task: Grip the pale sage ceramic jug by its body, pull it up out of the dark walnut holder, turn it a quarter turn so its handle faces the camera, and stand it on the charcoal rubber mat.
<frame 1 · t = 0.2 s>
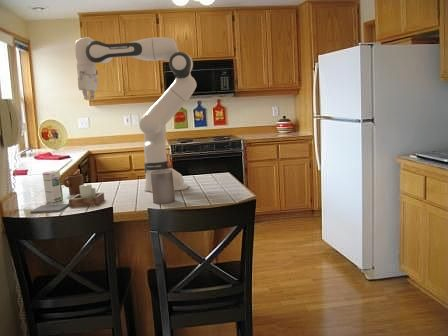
hand: (89, 99, 248), 47 cm above the breakfast bar, fingers open, 8 cm apart
syrup box: (54, 201, 240), on the breakfast bar
pillar candle: (164, 202, 222), on the breakfast bar
walnut holder: (87, 203, 229), on the breakfast bar
mug: (74, 194, 256), on the breakfast bar
jug: (88, 194, 228), in the walnut holder
charcoal mat: (50, 209, 221), on the breakfast bar
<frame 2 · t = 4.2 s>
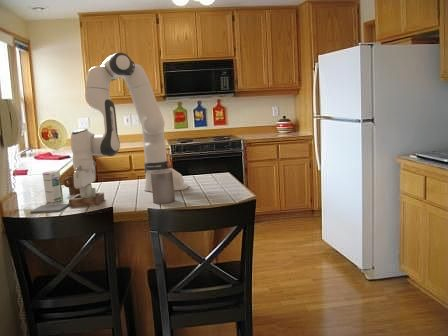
hand: (86, 194, 228), 4 cm above the breakfast bar, fingers closed on jug, 5 cm apart
jug: (88, 194, 228), in the walnut holder, touching gripper
everything else where it was.
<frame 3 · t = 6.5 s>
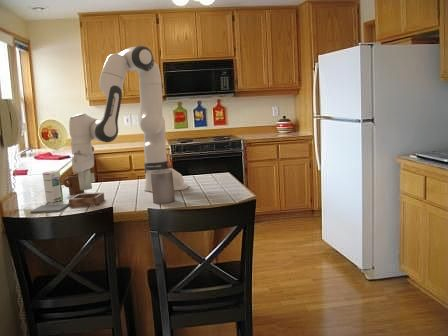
hand: (85, 179, 227), 11 cm above the breakfast bar, fingers closed on jug, 5 cm apart
jug: (86, 179, 227), point 11 cm above the breakfast bar, touching gripper
everything else where it was.
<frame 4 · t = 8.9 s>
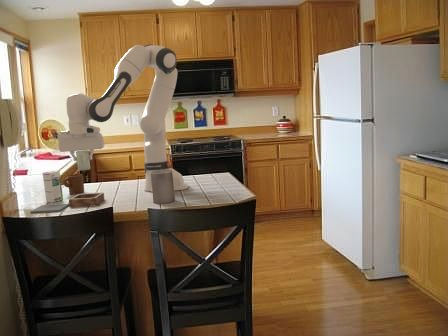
hand: (83, 160, 226), 20 cm above the breakfast bar, fingers closed on jug, 5 cm apart
jug: (82, 160, 225), point 20 cm above the breakfast bar, touching gripper
everything else where it was.
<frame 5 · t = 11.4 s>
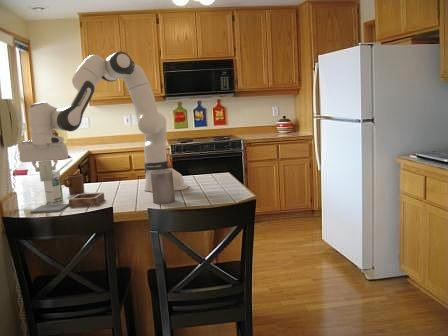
hand: (45, 170, 219), 17 cm above the breakfast bar, fingers closed on jug, 5 cm apart
jug: (45, 171, 218), point 17 cm above the breakfast bar, touching gripper
everything else where it was.
when the fingers open (6 cm above the breakfast bar, at t = 13.7 s): jug drops 1 cm, resting on charcoal mat.
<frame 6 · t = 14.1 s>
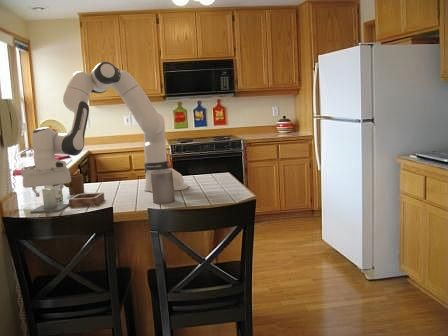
hand: (49, 195, 220), 6 cm above the breakfast bar, fingers open, 8 cm apart
jug: (49, 198, 220), on the charcoal mat, point 5 cm above the breakfast bar
everything else where it was.
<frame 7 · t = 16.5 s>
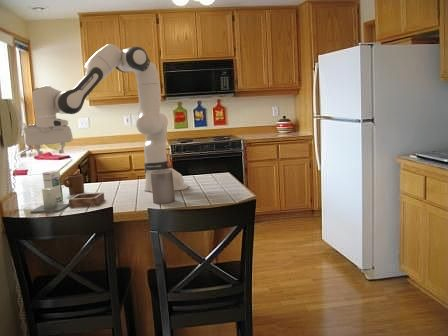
hand: (51, 154, 220), 24 cm above the breakfast bar, fingers open, 8 cm apart
nothing on the breakfast bar moved.
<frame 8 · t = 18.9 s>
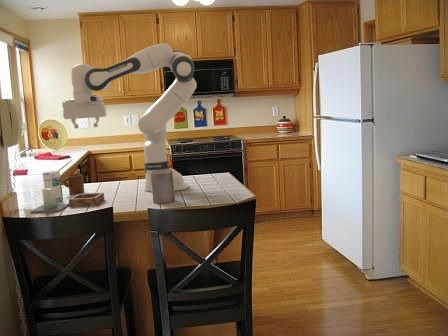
hand: (86, 127, 238), 34 cm above the breakfast bar, fingers open, 8 cm apart
nothing on the breakfast bar moved.
at the end: jug inside the target area on the charcoal mat (0.1 cm from its centre), point 5.0 cm above the charcoal mat's base; jug tilted 0°; the gripper is holding nothing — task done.
